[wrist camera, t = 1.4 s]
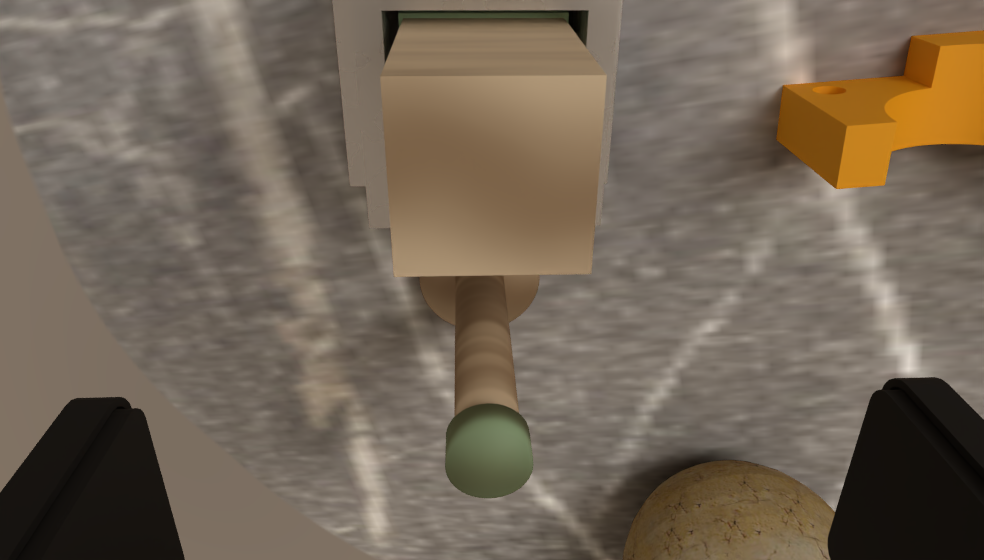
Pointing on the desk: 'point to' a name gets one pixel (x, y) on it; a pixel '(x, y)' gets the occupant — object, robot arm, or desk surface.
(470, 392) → the marker post
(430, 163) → the column
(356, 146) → the sleeve
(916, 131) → the pipe clamp
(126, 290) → the desk surface
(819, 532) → the fossilized egg
